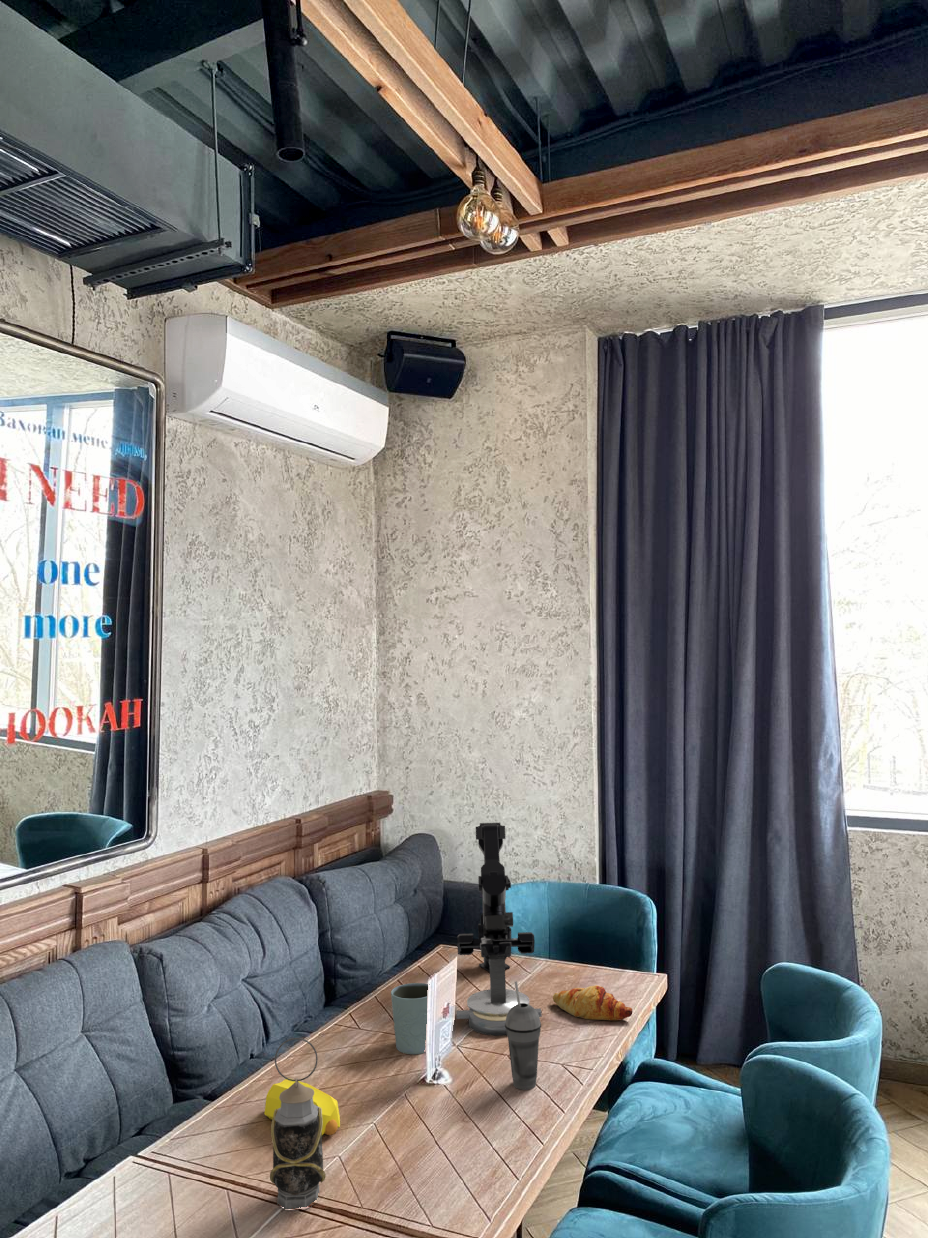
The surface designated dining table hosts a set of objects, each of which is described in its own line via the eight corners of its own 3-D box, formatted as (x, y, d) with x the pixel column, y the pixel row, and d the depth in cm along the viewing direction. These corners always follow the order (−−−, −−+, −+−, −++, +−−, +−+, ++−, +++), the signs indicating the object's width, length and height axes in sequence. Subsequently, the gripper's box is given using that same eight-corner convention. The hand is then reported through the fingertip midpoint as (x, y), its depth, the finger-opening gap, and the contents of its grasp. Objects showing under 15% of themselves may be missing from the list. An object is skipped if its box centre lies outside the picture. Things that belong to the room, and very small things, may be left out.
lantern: (329, 1183, 150) (326, 1027, 151) (323, 1213, 142) (320, 1047, 143) (275, 1186, 149) (272, 1029, 150) (266, 1216, 141) (263, 1050, 142)
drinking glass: (417, 1060, 195) (416, 1002, 196) (382, 1048, 201) (380, 992, 202) (447, 1043, 203) (445, 988, 204) (412, 1033, 209) (411, 979, 210)
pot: (457, 1012, 220) (456, 1000, 220) (539, 1010, 220) (538, 998, 220) (456, 1037, 206) (456, 1023, 206) (544, 1034, 206) (543, 1021, 206)
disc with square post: (467, 993, 224) (466, 948, 224) (527, 991, 224) (526, 946, 224) (467, 1016, 209) (466, 968, 210) (531, 1015, 209) (530, 966, 210)
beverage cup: (540, 1094, 178) (537, 989, 179) (503, 1091, 180) (500, 987, 181) (545, 1077, 185) (542, 976, 186) (509, 1075, 187) (506, 974, 188)
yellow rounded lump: (286, 1102, 178) (254, 1118, 172) (286, 1067, 179) (253, 1081, 173) (351, 1131, 167) (318, 1149, 161) (350, 1093, 167) (318, 1110, 161)
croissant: (547, 1023, 222) (538, 997, 219) (565, 991, 229) (556, 967, 227) (628, 1040, 210) (619, 1014, 207) (644, 1006, 217) (635, 980, 214)
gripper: (456, 900, 225) (457, 961, 214) (532, 899, 225) (537, 959, 213) (457, 924, 233) (458, 984, 221) (531, 922, 233) (536, 982, 221)
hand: (497, 977), depth 219 cm, fingers closed, pressing on disc with square post
